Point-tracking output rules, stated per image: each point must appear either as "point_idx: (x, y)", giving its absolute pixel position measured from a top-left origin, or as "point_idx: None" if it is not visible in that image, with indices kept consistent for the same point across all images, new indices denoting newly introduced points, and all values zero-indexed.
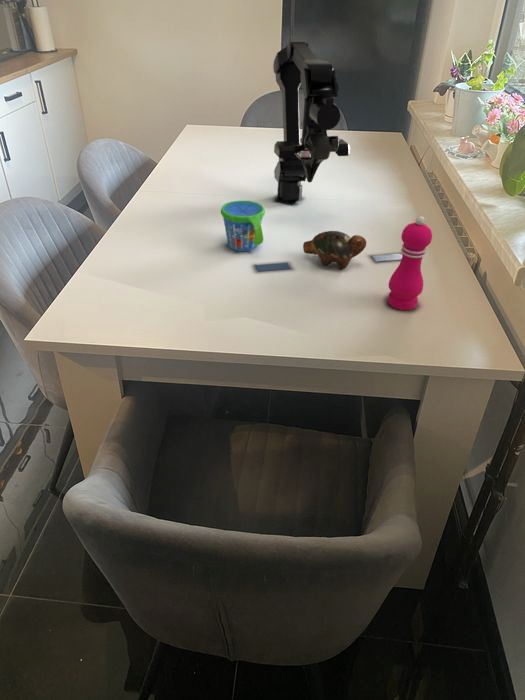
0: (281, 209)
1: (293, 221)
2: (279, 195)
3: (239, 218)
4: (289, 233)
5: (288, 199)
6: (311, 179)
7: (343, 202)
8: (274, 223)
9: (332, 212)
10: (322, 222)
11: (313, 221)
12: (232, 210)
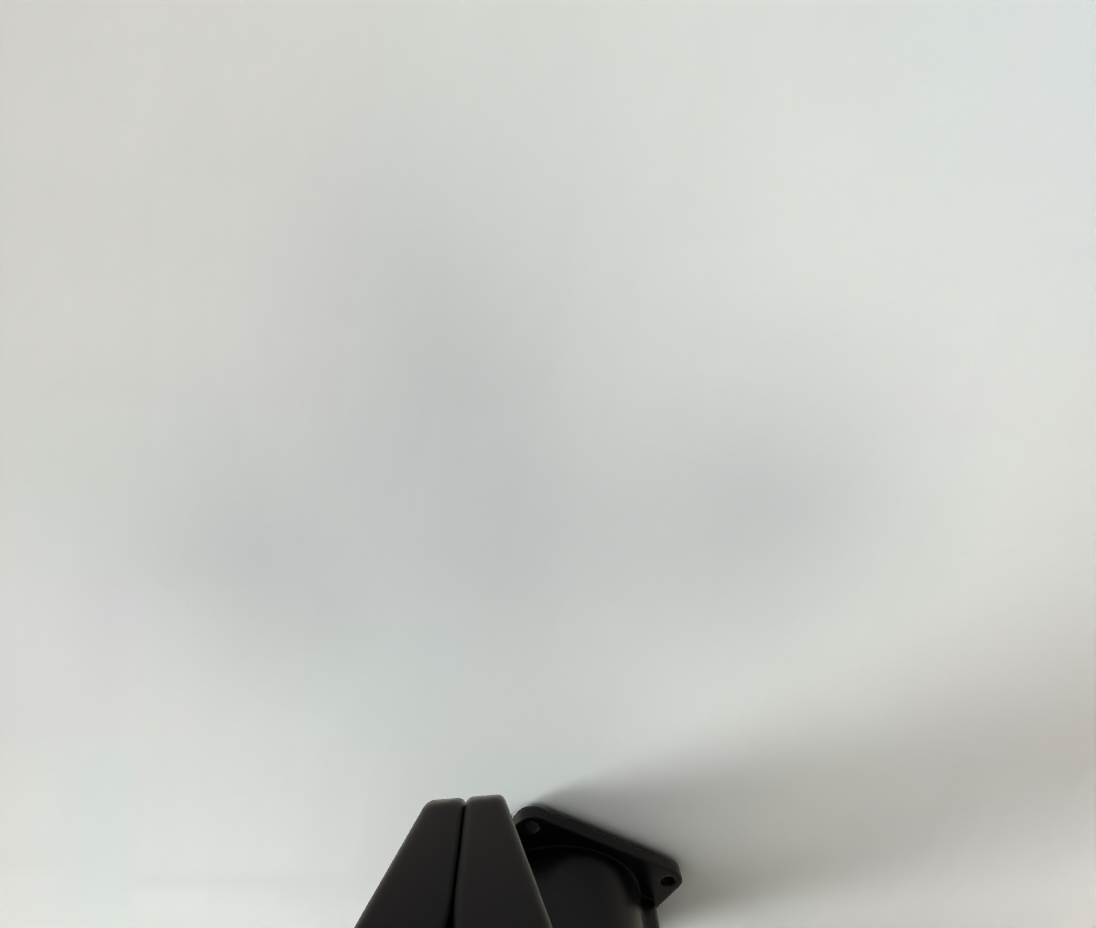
0: (666, 728)
1: (617, 486)
2: (644, 917)
3: None
4: (746, 179)
5: (577, 861)
6: (427, 854)
7: (63, 835)
8: (831, 450)
9: (177, 660)
10: (303, 448)
11: (400, 477)
12: None
